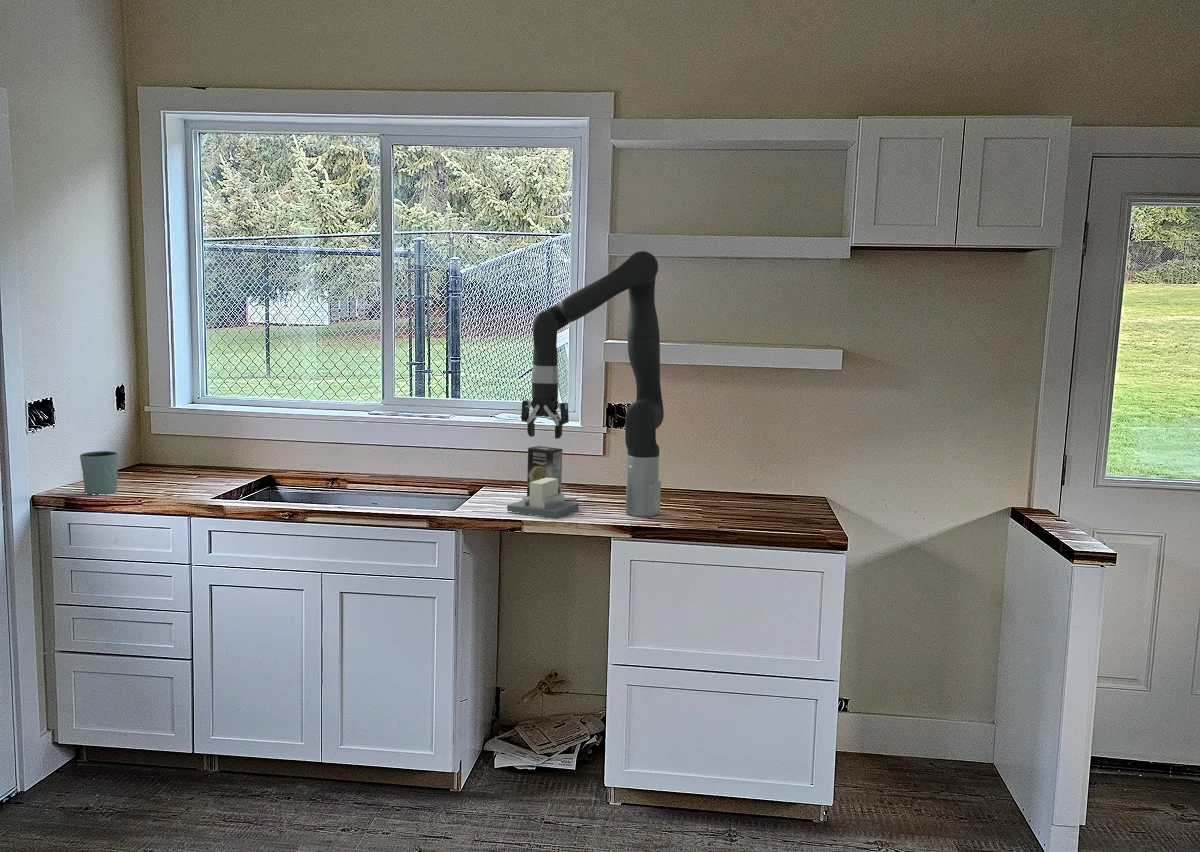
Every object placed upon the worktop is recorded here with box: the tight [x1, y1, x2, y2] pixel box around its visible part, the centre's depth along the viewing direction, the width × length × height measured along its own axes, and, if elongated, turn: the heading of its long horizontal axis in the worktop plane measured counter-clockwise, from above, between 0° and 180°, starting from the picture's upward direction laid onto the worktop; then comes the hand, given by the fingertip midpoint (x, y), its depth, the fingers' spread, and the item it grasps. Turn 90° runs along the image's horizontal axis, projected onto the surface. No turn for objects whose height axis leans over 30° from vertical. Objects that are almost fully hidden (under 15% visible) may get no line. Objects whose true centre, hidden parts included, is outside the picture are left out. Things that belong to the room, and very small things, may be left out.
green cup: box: [79, 450, 119, 495], centre depth 289 cm, size 10×10×12 cm
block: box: [529, 477, 558, 508], centre depth 280 cm, size 4×10×7 cm, turn 155°
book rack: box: [506, 493, 580, 519], centre depth 280 cm, size 16×14×4 cm
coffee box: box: [526, 445, 563, 497], centre depth 296 cm, size 9×6×16 cm
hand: (544, 437), depth 278 cm, fingers open, 8 cm apart
